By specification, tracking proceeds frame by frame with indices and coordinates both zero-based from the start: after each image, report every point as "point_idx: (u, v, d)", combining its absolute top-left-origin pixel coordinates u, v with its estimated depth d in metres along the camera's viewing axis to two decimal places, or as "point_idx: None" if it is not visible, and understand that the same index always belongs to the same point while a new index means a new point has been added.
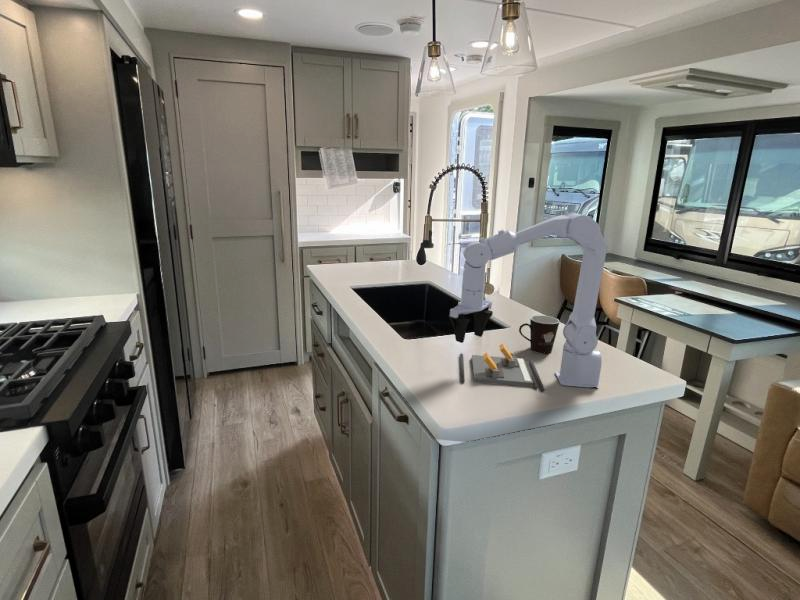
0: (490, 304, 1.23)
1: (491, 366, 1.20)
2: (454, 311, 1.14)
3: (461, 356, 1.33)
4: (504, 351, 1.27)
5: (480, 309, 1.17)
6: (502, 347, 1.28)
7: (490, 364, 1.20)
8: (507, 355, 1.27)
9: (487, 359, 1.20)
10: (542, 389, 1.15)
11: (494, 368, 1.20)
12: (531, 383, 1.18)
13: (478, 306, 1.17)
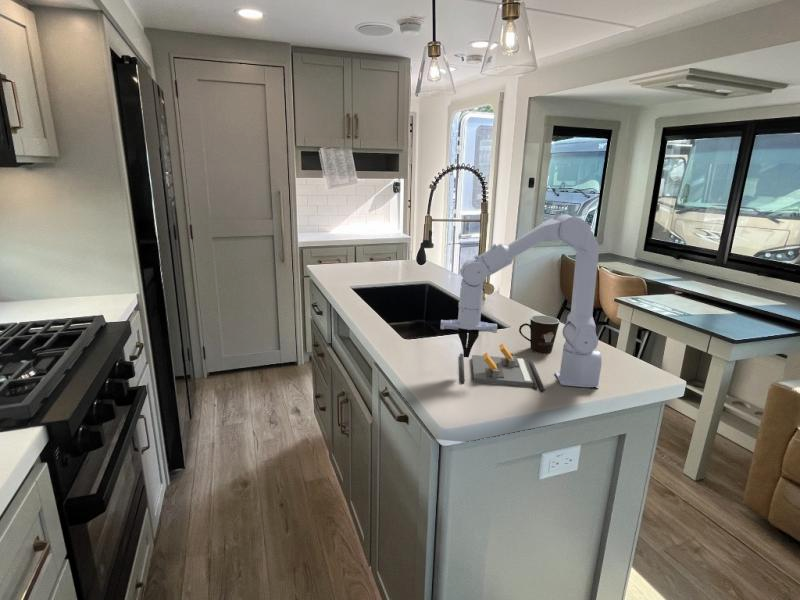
0: (494, 328, 1.18)
1: (491, 366, 1.20)
2: None
3: (461, 356, 1.33)
4: (504, 351, 1.27)
5: (468, 327, 1.17)
6: (502, 347, 1.28)
7: (490, 364, 1.20)
8: (507, 355, 1.27)
9: (487, 359, 1.20)
10: (542, 389, 1.15)
11: (494, 368, 1.20)
12: (531, 383, 1.18)
13: (466, 324, 1.17)
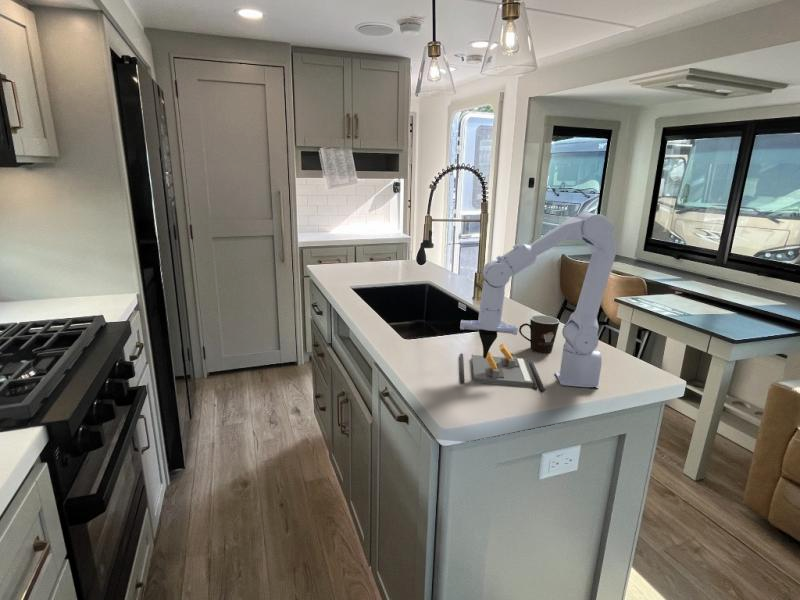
0: (515, 330, 1.18)
1: (492, 365, 1.20)
2: None
3: (461, 356, 1.33)
4: (504, 351, 1.27)
5: (489, 329, 1.16)
6: (502, 347, 1.28)
7: (491, 363, 1.20)
8: (507, 355, 1.27)
9: (489, 358, 1.20)
10: (542, 389, 1.15)
11: (495, 368, 1.20)
12: (531, 383, 1.18)
13: (487, 325, 1.16)
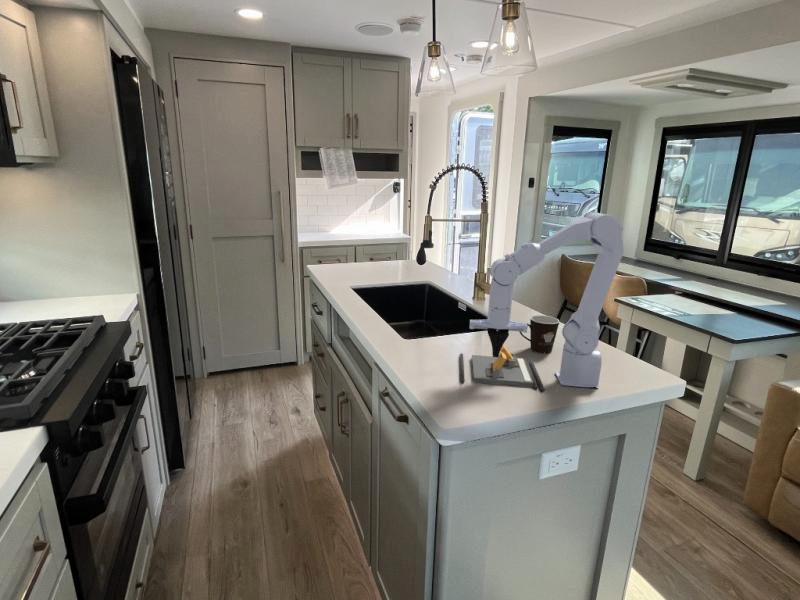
0: (524, 327, 1.17)
1: (499, 366, 1.20)
2: (470, 322, 1.19)
3: (461, 356, 1.33)
4: (504, 351, 1.27)
5: (498, 327, 1.16)
6: (502, 347, 1.28)
7: (500, 364, 1.20)
8: (507, 355, 1.27)
9: (504, 359, 1.19)
10: (542, 389, 1.15)
11: (498, 369, 1.20)
12: (531, 383, 1.18)
13: (496, 324, 1.16)
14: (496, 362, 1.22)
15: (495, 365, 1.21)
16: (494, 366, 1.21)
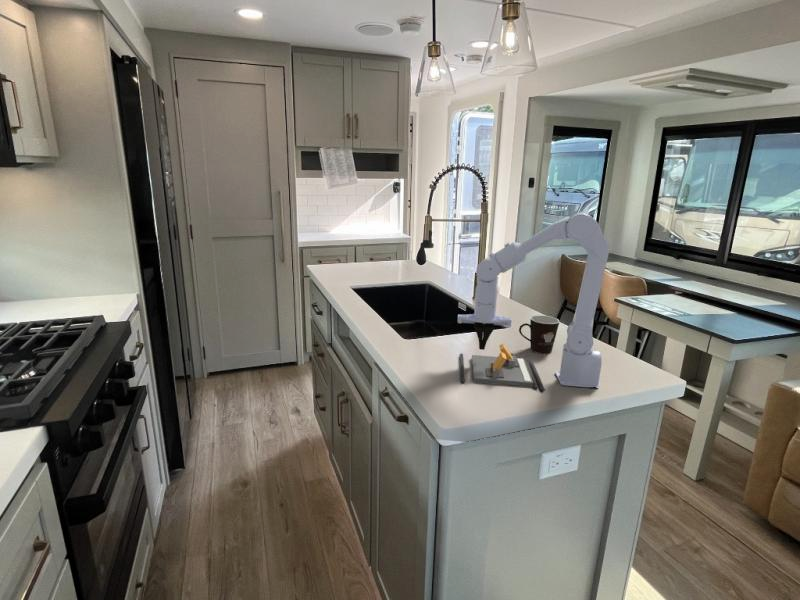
0: (508, 322, 1.25)
1: (499, 366, 1.20)
2: (458, 317, 1.27)
3: (461, 356, 1.33)
4: (504, 351, 1.27)
5: (484, 321, 1.24)
6: (502, 347, 1.28)
7: (500, 364, 1.20)
8: (507, 355, 1.27)
9: (504, 359, 1.19)
10: (542, 389, 1.15)
11: (498, 369, 1.20)
12: (531, 383, 1.18)
13: (482, 318, 1.24)
14: (496, 362, 1.22)
15: (495, 365, 1.21)
16: (494, 366, 1.21)
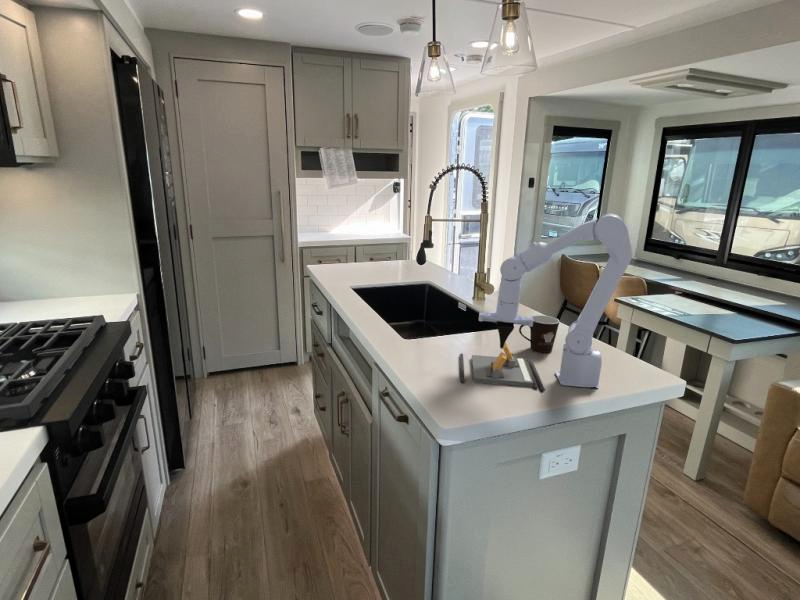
0: (530, 322, 1.25)
1: (499, 366, 1.20)
2: (479, 315, 1.26)
3: (461, 356, 1.33)
4: (506, 350, 1.27)
5: (506, 320, 1.23)
6: (505, 346, 1.28)
7: (500, 364, 1.20)
8: (508, 354, 1.27)
9: (504, 359, 1.19)
10: (542, 389, 1.15)
11: (498, 369, 1.20)
12: (531, 383, 1.18)
13: (504, 317, 1.23)
14: (496, 362, 1.22)
15: (495, 365, 1.21)
16: (494, 366, 1.21)
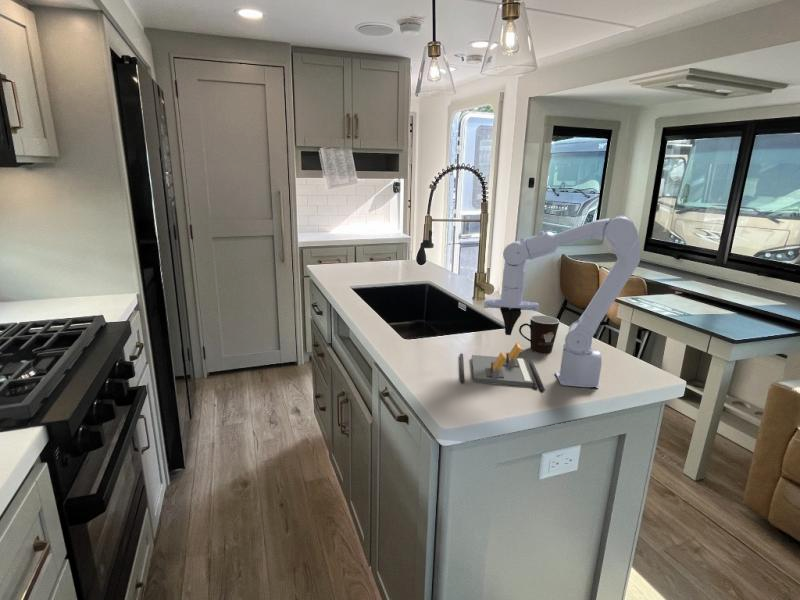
0: (536, 306, 1.24)
1: (499, 366, 1.20)
2: (484, 301, 1.25)
3: (461, 356, 1.33)
4: (518, 351, 1.27)
5: (511, 306, 1.22)
6: (520, 347, 1.27)
7: (500, 364, 1.20)
8: (515, 355, 1.27)
9: (504, 359, 1.19)
10: (542, 389, 1.15)
11: (498, 369, 1.20)
12: (531, 383, 1.18)
13: (509, 302, 1.22)
14: (496, 362, 1.22)
15: (495, 365, 1.21)
16: (494, 366, 1.21)
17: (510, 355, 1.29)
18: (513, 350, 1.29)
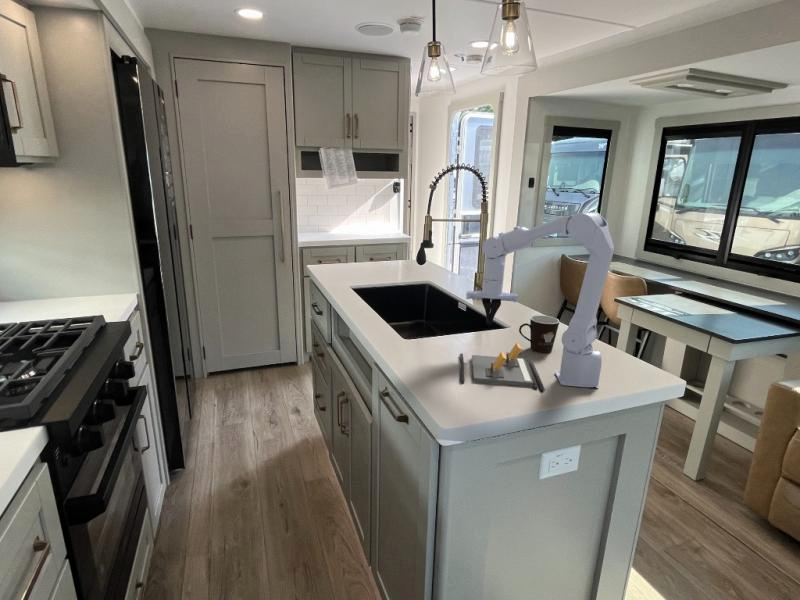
0: (515, 297, 1.32)
1: (499, 366, 1.20)
2: None
3: (461, 356, 1.33)
4: (518, 351, 1.27)
5: (492, 297, 1.30)
6: (520, 347, 1.27)
7: (500, 364, 1.20)
8: (515, 355, 1.27)
9: (504, 359, 1.19)
10: (542, 389, 1.15)
11: (498, 369, 1.20)
12: (531, 383, 1.18)
13: (490, 294, 1.30)
14: (496, 362, 1.22)
15: (495, 365, 1.21)
16: (494, 366, 1.21)
17: (510, 355, 1.29)
18: (513, 350, 1.29)
